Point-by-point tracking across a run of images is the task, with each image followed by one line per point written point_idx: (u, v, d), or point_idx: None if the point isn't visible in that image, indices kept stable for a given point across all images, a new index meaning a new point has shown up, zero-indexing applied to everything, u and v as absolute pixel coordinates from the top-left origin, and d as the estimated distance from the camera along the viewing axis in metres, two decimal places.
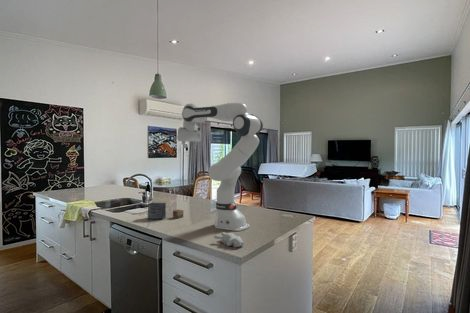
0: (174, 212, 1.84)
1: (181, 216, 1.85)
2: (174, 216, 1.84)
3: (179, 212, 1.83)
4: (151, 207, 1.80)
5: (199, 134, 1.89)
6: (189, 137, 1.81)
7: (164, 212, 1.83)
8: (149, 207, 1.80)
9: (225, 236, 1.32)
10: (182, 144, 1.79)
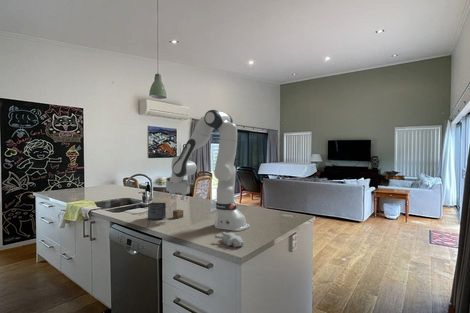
0: (174, 212, 1.84)
1: (181, 216, 1.85)
2: (174, 216, 1.84)
3: (179, 212, 1.83)
4: (151, 207, 1.80)
5: None
6: None
7: (164, 212, 1.83)
8: (149, 207, 1.80)
9: (225, 236, 1.32)
10: (182, 196, 1.81)
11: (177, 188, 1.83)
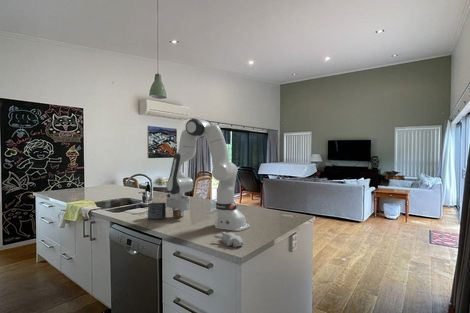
0: (174, 212, 1.84)
1: (181, 216, 1.85)
2: (174, 216, 1.84)
3: (179, 212, 1.83)
4: (151, 207, 1.80)
5: None
6: None
7: (164, 212, 1.83)
8: (149, 207, 1.80)
9: (225, 236, 1.33)
10: (181, 212, 1.82)
11: (177, 204, 1.83)
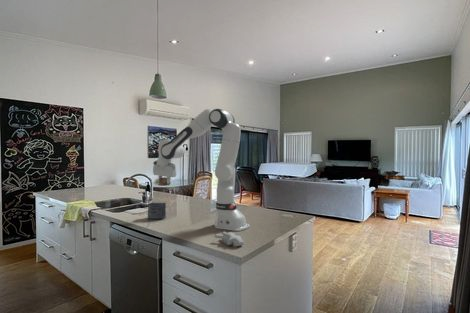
0: (160, 179, 1.82)
1: (167, 183, 1.83)
2: (160, 183, 1.82)
3: (165, 179, 1.82)
4: (151, 207, 1.80)
5: None
6: None
7: (164, 212, 1.83)
8: (149, 207, 1.80)
9: (225, 235, 1.33)
10: (167, 179, 1.81)
11: (164, 171, 1.81)
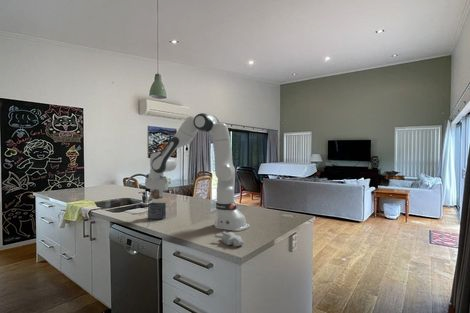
0: (152, 192, 1.81)
1: (160, 197, 1.82)
2: (152, 196, 1.81)
3: (157, 192, 1.80)
4: (151, 207, 1.80)
5: None
6: None
7: (164, 212, 1.83)
8: (149, 207, 1.80)
9: (225, 235, 1.33)
10: (160, 193, 1.80)
11: (156, 185, 1.80)
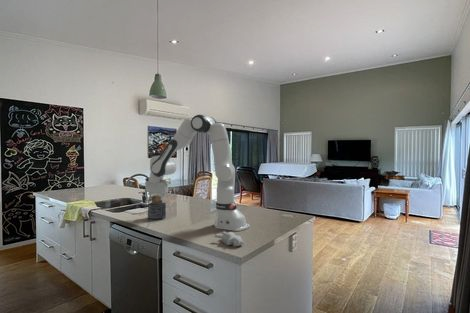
0: (153, 197, 1.81)
1: (160, 202, 1.82)
2: (153, 201, 1.81)
3: (158, 197, 1.81)
4: (151, 207, 1.80)
5: None
6: None
7: (164, 212, 1.83)
8: (149, 207, 1.80)
9: (225, 235, 1.33)
10: (161, 196, 1.79)
11: (156, 188, 1.80)
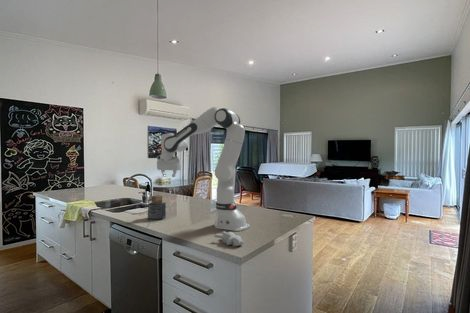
0: (152, 197, 1.81)
1: (160, 202, 1.82)
2: (152, 201, 1.81)
3: (157, 197, 1.80)
4: (151, 207, 1.80)
5: None
6: None
7: (164, 212, 1.83)
8: (149, 207, 1.80)
9: (225, 235, 1.34)
10: (174, 173, 1.81)
11: (168, 165, 1.82)
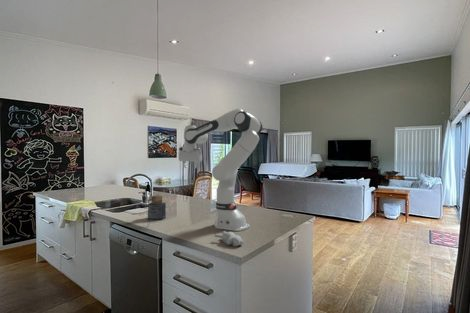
0: (152, 197, 1.81)
1: (160, 202, 1.82)
2: (152, 201, 1.81)
3: (157, 197, 1.80)
4: (151, 207, 1.80)
5: None
6: None
7: (164, 212, 1.83)
8: (149, 207, 1.80)
9: (225, 235, 1.34)
10: (195, 164, 1.86)
11: (190, 157, 1.88)
